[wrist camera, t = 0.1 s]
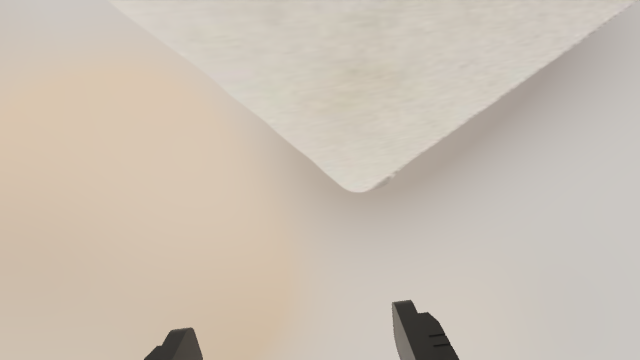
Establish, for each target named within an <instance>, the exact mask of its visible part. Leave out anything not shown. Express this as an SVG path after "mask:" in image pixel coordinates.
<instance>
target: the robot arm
mask: <svg viewBox="0 0 640 360" xmlns="http://www.w3.org/2000/svg"><path fill="white" fill-rule="evenodd" d="M392 311H393V312H392V313H393V327H394V337H395V342H396V347H397V350H398V354H399V356H400V359H401V360H459V358H458V356H457V355H456V353H455V351H454V349H453V347H452V346H451V344H450V342H449V340H448V338H447V336H445V333H444V331H443V329H442V327H441V325H440V323H439V322H438V321H437V320H436V319H435V318H434V317H433V316H431V315H430V314H429V313H428V312H427V313H417V310H416V308H415V306H414V304H413V302H412V301H411V300H406V301H399V302H393V303H392ZM144 360H203V357H202V354H201V350H200V348H199V344H198V341H197V338H196V335H195V332H194V330H193V328H183V329H175V330H172V331H170V332H169V334H168V335H167V337H166V339H165V341H164V342H163V344H162V346H157V347H156V348H155V349H154V350H153V351H152V352H151V353H150V354H149V355H148V356H147V357H146V358H145V359H144Z"/></svg>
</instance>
